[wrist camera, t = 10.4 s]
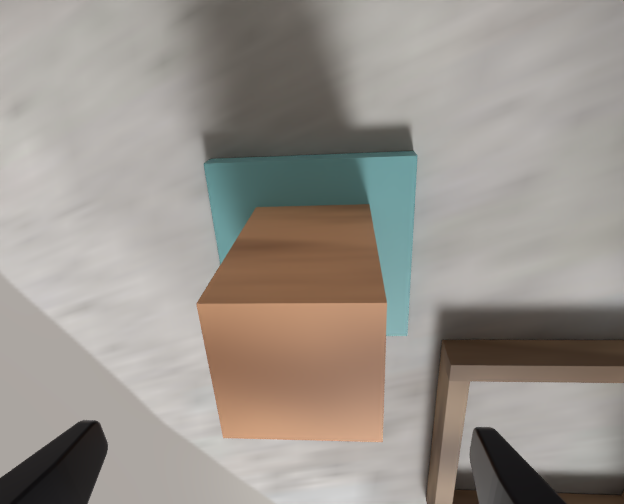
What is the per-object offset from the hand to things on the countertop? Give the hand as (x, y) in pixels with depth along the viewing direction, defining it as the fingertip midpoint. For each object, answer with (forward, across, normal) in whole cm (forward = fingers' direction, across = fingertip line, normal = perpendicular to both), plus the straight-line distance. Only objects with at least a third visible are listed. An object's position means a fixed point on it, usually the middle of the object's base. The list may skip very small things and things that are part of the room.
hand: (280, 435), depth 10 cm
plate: (+11, 0, 0) cm, 11 cm away
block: (+10, 0, 0) cm, 10 cm away
